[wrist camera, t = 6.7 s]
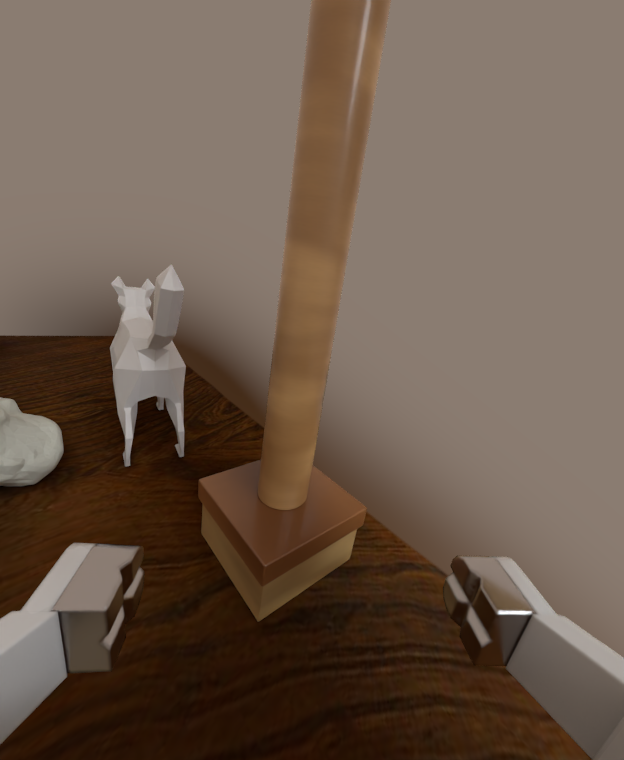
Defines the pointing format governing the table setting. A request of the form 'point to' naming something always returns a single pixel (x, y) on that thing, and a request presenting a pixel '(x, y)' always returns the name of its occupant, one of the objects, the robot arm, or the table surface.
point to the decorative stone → (26, 446)
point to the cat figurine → (148, 353)
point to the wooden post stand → (305, 331)
